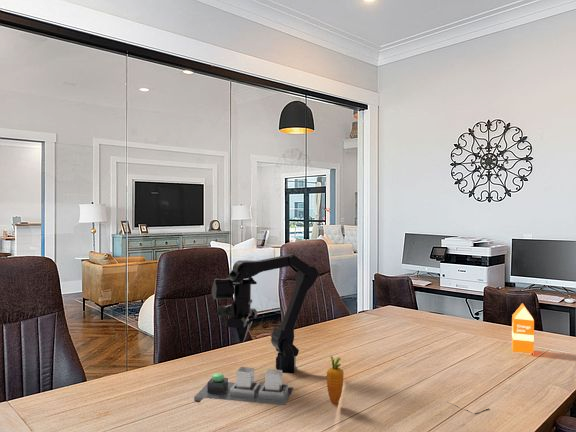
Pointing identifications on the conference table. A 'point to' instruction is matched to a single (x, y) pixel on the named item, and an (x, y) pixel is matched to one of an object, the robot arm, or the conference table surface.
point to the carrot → (335, 381)
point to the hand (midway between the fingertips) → (241, 342)
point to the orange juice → (522, 331)
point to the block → (273, 380)
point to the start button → (217, 377)
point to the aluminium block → (245, 378)
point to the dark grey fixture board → (243, 393)
